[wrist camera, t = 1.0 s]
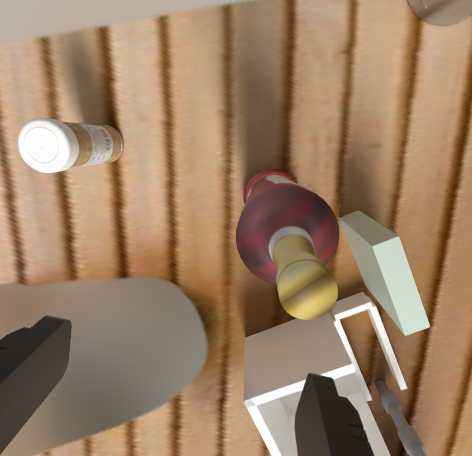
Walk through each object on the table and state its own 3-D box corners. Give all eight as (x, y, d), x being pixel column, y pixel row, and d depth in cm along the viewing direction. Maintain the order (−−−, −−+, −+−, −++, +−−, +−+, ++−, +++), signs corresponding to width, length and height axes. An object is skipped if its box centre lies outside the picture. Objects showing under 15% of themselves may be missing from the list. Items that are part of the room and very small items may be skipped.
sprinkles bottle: (87, 123, 41) (12, 116, 28) (124, 126, 41) (66, 119, 28) (89, 162, 42) (18, 171, 29) (125, 164, 42) (70, 175, 29)
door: (365, 207, 42) (409, 232, 31) (390, 275, 45) (439, 323, 33) (339, 217, 43) (372, 246, 31) (365, 285, 45) (405, 335, 33)
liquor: (230, 190, 43) (195, 277, 15) (278, 153, 41) (331, 179, 14) (265, 235, 44) (288, 389, 17) (312, 201, 42) (421, 309, 15)
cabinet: (365, 290, 45) (410, 348, 33) (401, 383, 48) (454, 468, 36) (244, 335, 48) (242, 406, 35) (286, 420, 51) (297, 513, 38)
